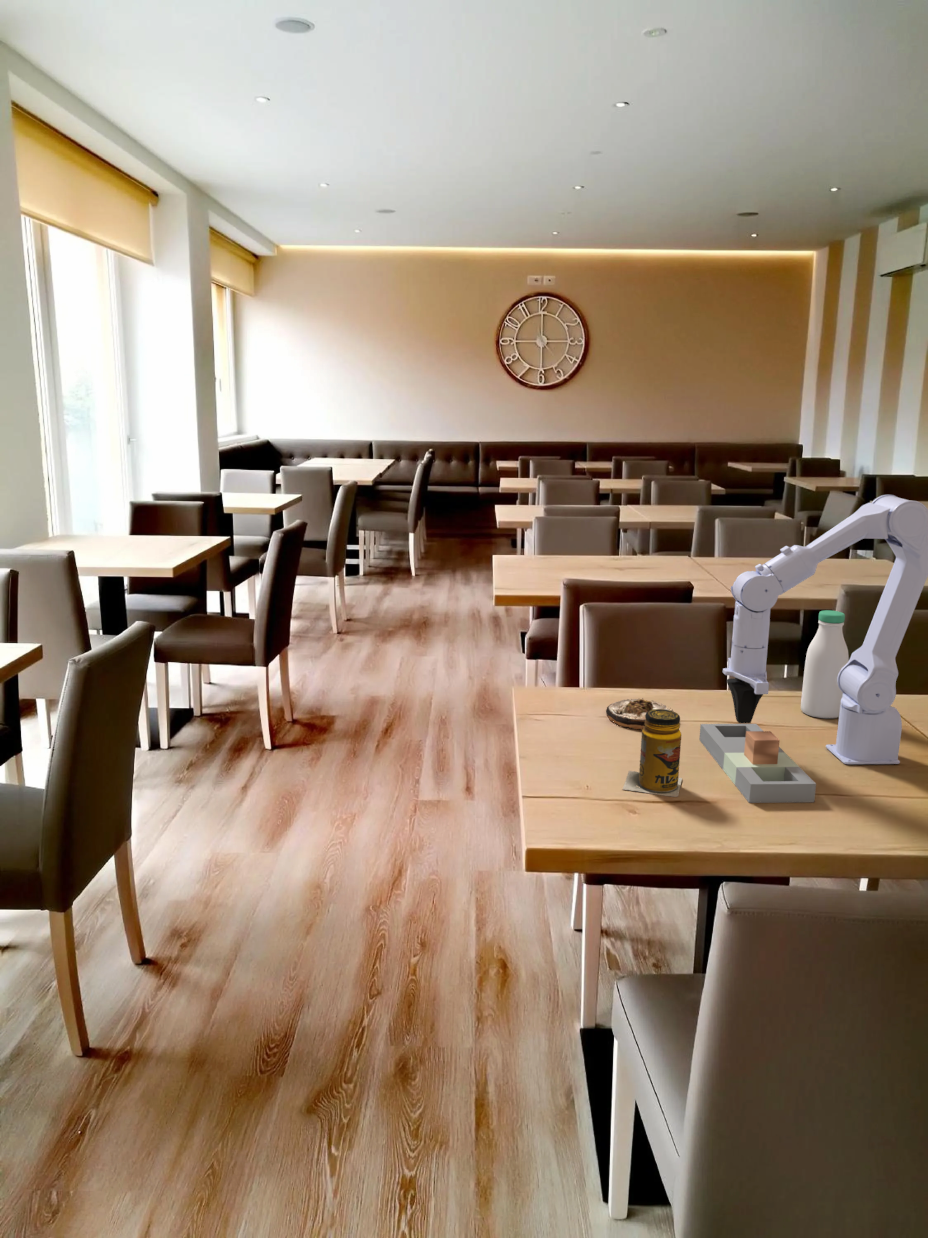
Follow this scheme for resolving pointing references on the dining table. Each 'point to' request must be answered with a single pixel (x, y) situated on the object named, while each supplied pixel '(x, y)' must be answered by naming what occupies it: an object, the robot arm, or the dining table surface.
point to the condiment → (658, 755)
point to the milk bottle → (824, 667)
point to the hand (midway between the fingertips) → (743, 721)
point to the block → (761, 747)
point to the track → (756, 767)
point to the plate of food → (632, 712)
